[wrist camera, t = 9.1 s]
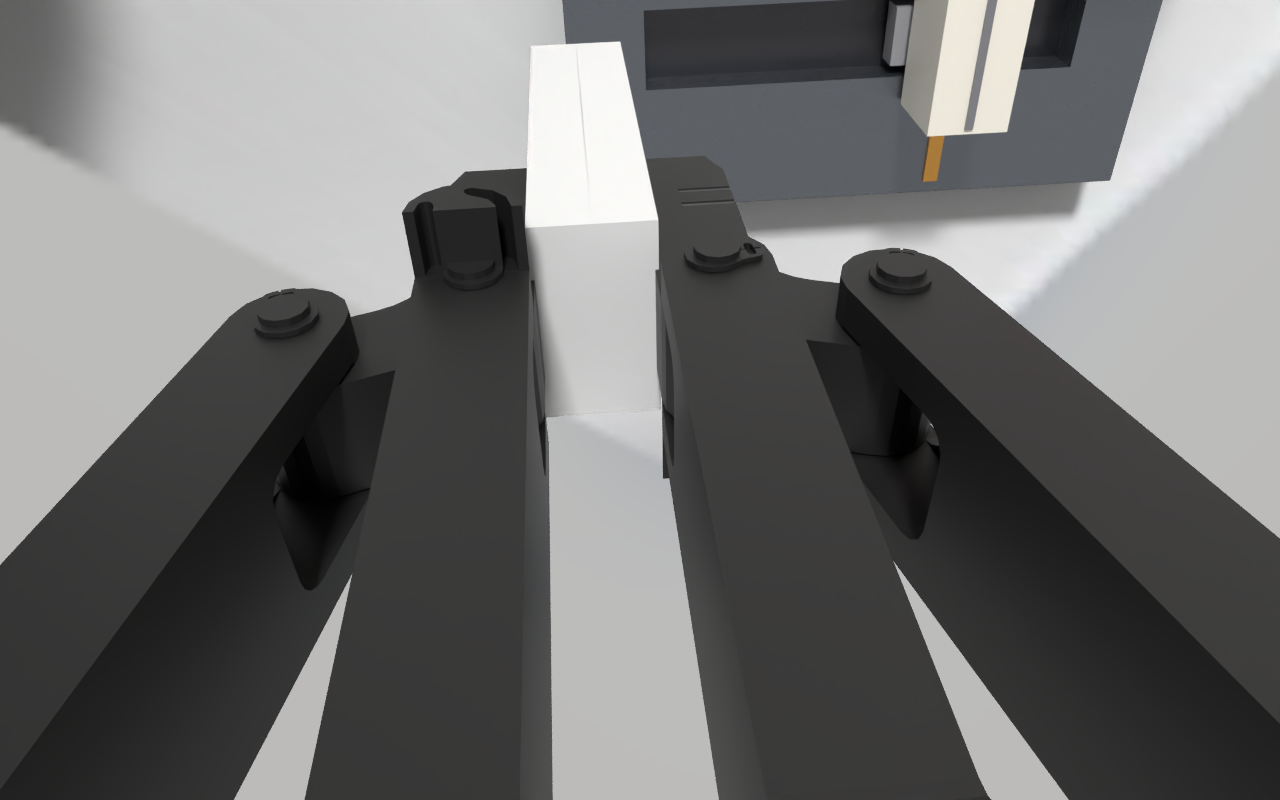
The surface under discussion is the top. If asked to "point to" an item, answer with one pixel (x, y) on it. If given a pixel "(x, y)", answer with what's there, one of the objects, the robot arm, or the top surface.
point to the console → (862, 94)
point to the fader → (958, 61)
